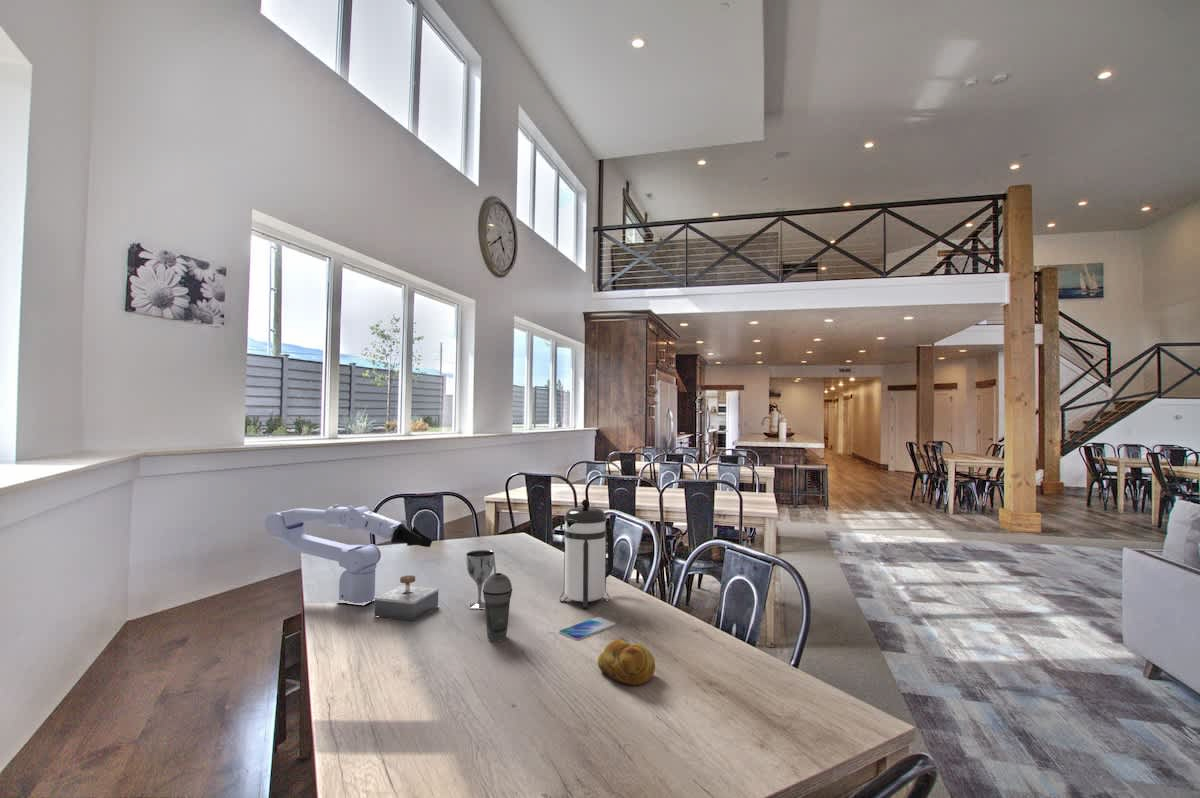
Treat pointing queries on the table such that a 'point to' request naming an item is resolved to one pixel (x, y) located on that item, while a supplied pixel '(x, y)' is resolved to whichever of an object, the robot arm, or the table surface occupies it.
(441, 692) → the table surface
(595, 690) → the table surface
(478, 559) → the wine glass
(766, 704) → the table surface
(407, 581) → the brass door knob
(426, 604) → the press
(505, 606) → the beverage cup
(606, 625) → the smartphone
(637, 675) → the bread roll
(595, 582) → the coffee press
